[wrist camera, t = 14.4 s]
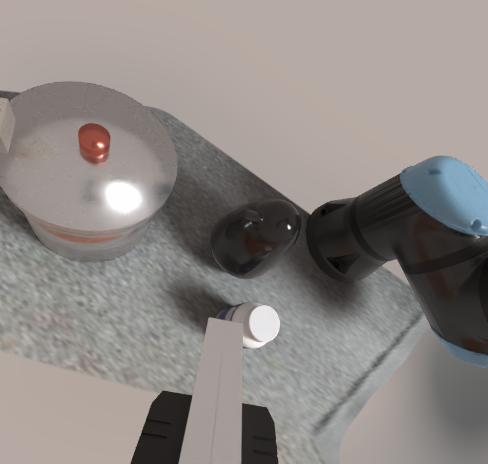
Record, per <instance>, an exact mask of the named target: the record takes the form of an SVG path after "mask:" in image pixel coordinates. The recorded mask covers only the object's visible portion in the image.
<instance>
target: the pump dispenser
mask: <svg viewBox="0 0 488 464" xmlns="http://www.w3.org/2000/svg"><path fill="white" fill-rule="evenodd" d="M300 228H301V218H300V215H299V212H298V210H297V209H296V208H295V206H294V205H292V204H291V203H290V202H288V201H286V200H283V199H279V198H261V199H257V200H253V201H249V202H246V203H243V204H241V205H239V206H236V207H234V208H233V209H231V210H229V211H228V212H226V213H225V214H223V215H222V216H221V217H220V218H219V219H218V220H217V222H216V223H215V225H214V227H213V230H212V233H211V248H212V253H213V256H214V258H215V260H216V262H217V263H218V265H219V266H220V267H221V268H222V269H223V270H224V271H226V272H227V273H229V274H231V275H232V276H235V277H237V278H241V279H254V278H257V277H260V276H262V275H264V274H266V273H267V272H269V271H270V270H272V269H273V268H274V267H275V266H277V265H278V264H279V263H280V262H281V261H282V260H283V259H284V258H285V257H286V256H287V254H288V253H289V252H290V250H291V249H292V247H293V246H294V244H295V242H296V240H297V238H298V236H299V233H300Z"/></svg>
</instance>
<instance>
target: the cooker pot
mask: <svg viewBox="0 0 488 464" xmlns="http://www.w3.org/2000/svg"><path fill="white" fill-rule="evenodd" d="M0 187H1V186H0ZM23 213H24V212H23ZM24 214H25V213H24ZM25 216H26V218H27V220H28V222H29V223H30V225H31V227H32V229H33V231H34V232H35V234H36V236H37V237H38V238H39V240H40V241H41V242H42V243H43V244H44V245H45V246H46V247H47V248H49V249H50V250H52V251H53V252H55V253H56V254H58V255H60V256H62V257H65V258H68V259H71V260H75V261H79V262H104V261H108V260H112V259H115V258H118V257H120V256H122V255H124V254H126V253H127V252H129V251H130V250H132V249H133V248H134V247H135V246H136V245H137V244H138V243H139V242H140V241H141V240H142V238H143V237H144V235H145V233H146V231H147V229H148V227H149V225H150V223H151V221H152V219H153V217H154V216H153V217H152V218H151V219H149V220H148V221H146V222H145V223H143V224H141V225H139V226H137V227H135V228H133V229H130V230H127V231H124V232H121V233H117V234H112V235H103V236H84V235H76V234H70V233H66V232H62V231H59V230H56V229H53V228H50V227H48V226H46V225H44V224H42V223H40V222H38V221H36V220H34V219H32V218H31V217H29V216H28V215H26V214H25Z"/></svg>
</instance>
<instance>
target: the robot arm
mask: <svg viewBox="0 0 488 464" xmlns="http://www.w3.org/2000/svg"><path fill="white" fill-rule="evenodd" d="M307 241H308V245H309V249H310V251H311V254H312V256H313V258H314V259H315V261H316V263H317V264H318V265H319V267H320V268H321V269H322V270H323V271H324V272H325V273H326V274H328V275H329V276H330V277H332V278H334V279H336V280H339V281H342V282H352V281H356V280H360V279H363V278H365V277H367V276H369V275H370V274H371V273H373V272H374V271H375V270H377V269H378V268H379V267H381V266H382V265H383V264H384V263H386V262H387V261H391V260H394V259H397V260H398V262H399V264H400V266H401V268H402V270H403V271H404V274H405V276H406V278H407V280H408V282H409V283H410V286H411V288H412V290H413V292H414V294H415V296H416V297H417V299H418V301H419V303H420V305H421V307H422V309H423V311H424V313H425V315H426V317H427V319H428V321H429V324H430V326H431V329H432V330H433V332H434V333H435V334H436V335H437V336H438V338H439V339H440V341H441V343H442V344H443V346H444V347H445V348H446V350H447V351H448V352H450V353H451V354H452V355H453V356H455V357H456V358H458V359H460V360H462V361H464V362H467V363H470V364H473V365H476V366H481V367H487V368H488V183H487V182H486V181H485V180H484V179H483V178H482V176H480V175H479V174H478V173H477V172H476V171H475V170H474V169H473V168H471V167H470V166H469V165H467V164H465V163H463V162H462V161H460V160H458V159H456V158H453V157H449V156H435V157H431V158H429V159H427V160H425V161H422V162H421V163H418V164H416V165H414V166H410V167H407V168H405V169H404V170H403V171H402V172H401V173H400V174H398V175H397V176H395V177H393V178H391V179H389V180H387V181H386V182H384V183H382V184H380V185H378V186H376V187H374V188H372V189H371V190H369V191H367V192H365V193H363V194H361V195H359V196H358V197H354V198H348V199H342V200H334V201H330V202H327V203H325V204H324V205H322V206H320V207H318V208H317V209H316V210H315V211H314V212H313V213H312V214H311V216H310V218H309V221H308V224H307ZM242 363H243V324H242V323H237V322H231V321H226V320H221V319H215V318H210V317H209V319H208V324H207V328H206V333H205V338H204V343H203V348H202V352H201V357H200V362H199V367H198V371H197V376H196V381H195V386H194V391H193V396H192V395H186V394H180V393H174V392H168V391H162V392H161V393H160V394H159V396H158V397H157V398H156V399H155V400H154V401H153V402H152V405H151V407H150V410H149V413H148V416H147V418H146V422H145V424H144V427H143V430H142V433H141V436H140V438H139V441H138V444H137V447H136V450H135V452H134V455H133V458H132V461H131V464H278V457H277V445H276V435H275V425H274V421H273V419H272V417H271V415H270V413H269V411H268V409H267V407H261V406H255V405H249V404H244V403H242Z"/></svg>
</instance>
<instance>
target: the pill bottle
mask: <svg viewBox="0 0 488 464" xmlns="http://www.w3.org/2000/svg"><path fill="white" fill-rule="evenodd" d="M216 319H221V320H226V321H231V322H237V323H242V324H243V348H258V347H261V346H263V345H264V344H265V343H267V342H268V341H271V340H272V339H274V338H275V337H276V335H277V334H278V332H279V327H280V321H279V317H278V315H277V313H276V312H275V310H274V309H273V308H271V307H269V306H267V305H261V304H259V303H257V302H246V303H243V304H239V305H235V306H232V307H228V308H225V309H223V310H222V311H221V312H220V313H219V314H218V315H217V317H216Z"/></svg>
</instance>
